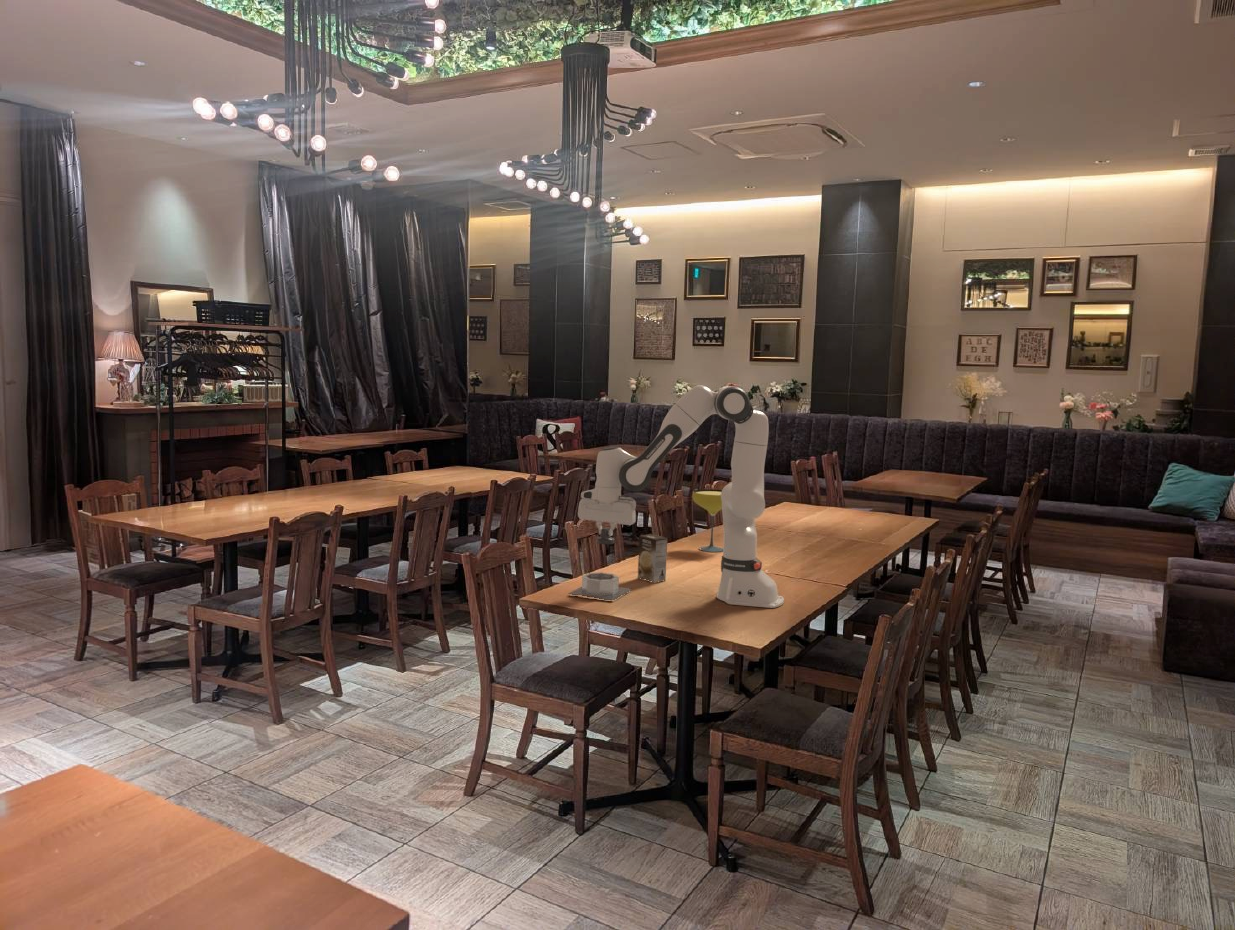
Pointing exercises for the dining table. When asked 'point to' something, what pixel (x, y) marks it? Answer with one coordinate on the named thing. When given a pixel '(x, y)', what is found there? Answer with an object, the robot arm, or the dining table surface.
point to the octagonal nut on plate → (600, 586)
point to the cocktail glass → (709, 509)
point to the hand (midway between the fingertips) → (605, 535)
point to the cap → (605, 537)
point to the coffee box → (652, 557)
